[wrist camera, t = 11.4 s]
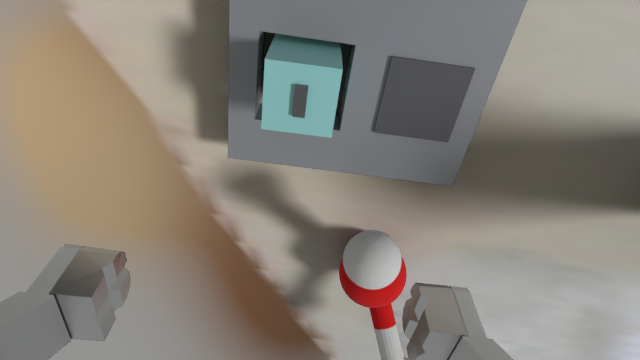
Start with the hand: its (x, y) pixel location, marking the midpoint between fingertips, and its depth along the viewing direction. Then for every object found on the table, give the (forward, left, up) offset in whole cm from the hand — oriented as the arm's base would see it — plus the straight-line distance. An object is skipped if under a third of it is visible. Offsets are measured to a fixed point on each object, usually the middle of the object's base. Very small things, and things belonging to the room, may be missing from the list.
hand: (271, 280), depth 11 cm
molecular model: (+16, +8, -18) cm, 25 cm away
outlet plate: (-1, +4, -18) cm, 19 cm away
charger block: (0, 0, -18) cm, 18 cm away
